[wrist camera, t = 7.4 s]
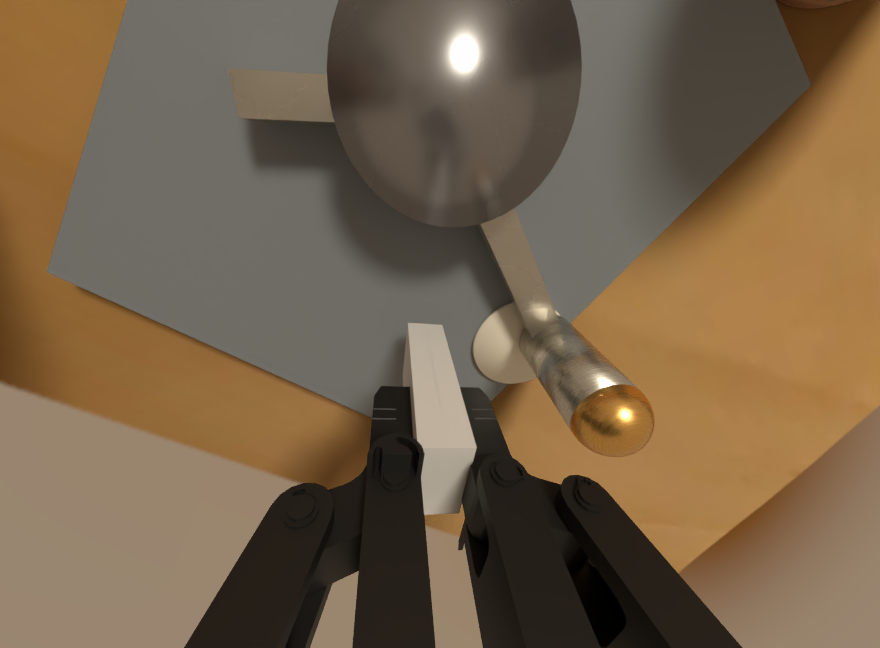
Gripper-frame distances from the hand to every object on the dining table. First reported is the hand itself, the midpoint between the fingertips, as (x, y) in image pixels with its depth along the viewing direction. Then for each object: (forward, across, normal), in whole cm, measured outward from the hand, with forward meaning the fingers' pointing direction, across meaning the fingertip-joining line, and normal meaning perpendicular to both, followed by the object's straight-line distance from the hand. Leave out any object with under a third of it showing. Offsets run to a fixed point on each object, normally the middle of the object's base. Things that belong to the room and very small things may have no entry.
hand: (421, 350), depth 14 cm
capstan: (+2, +2, +6) cm, 6 cm away
